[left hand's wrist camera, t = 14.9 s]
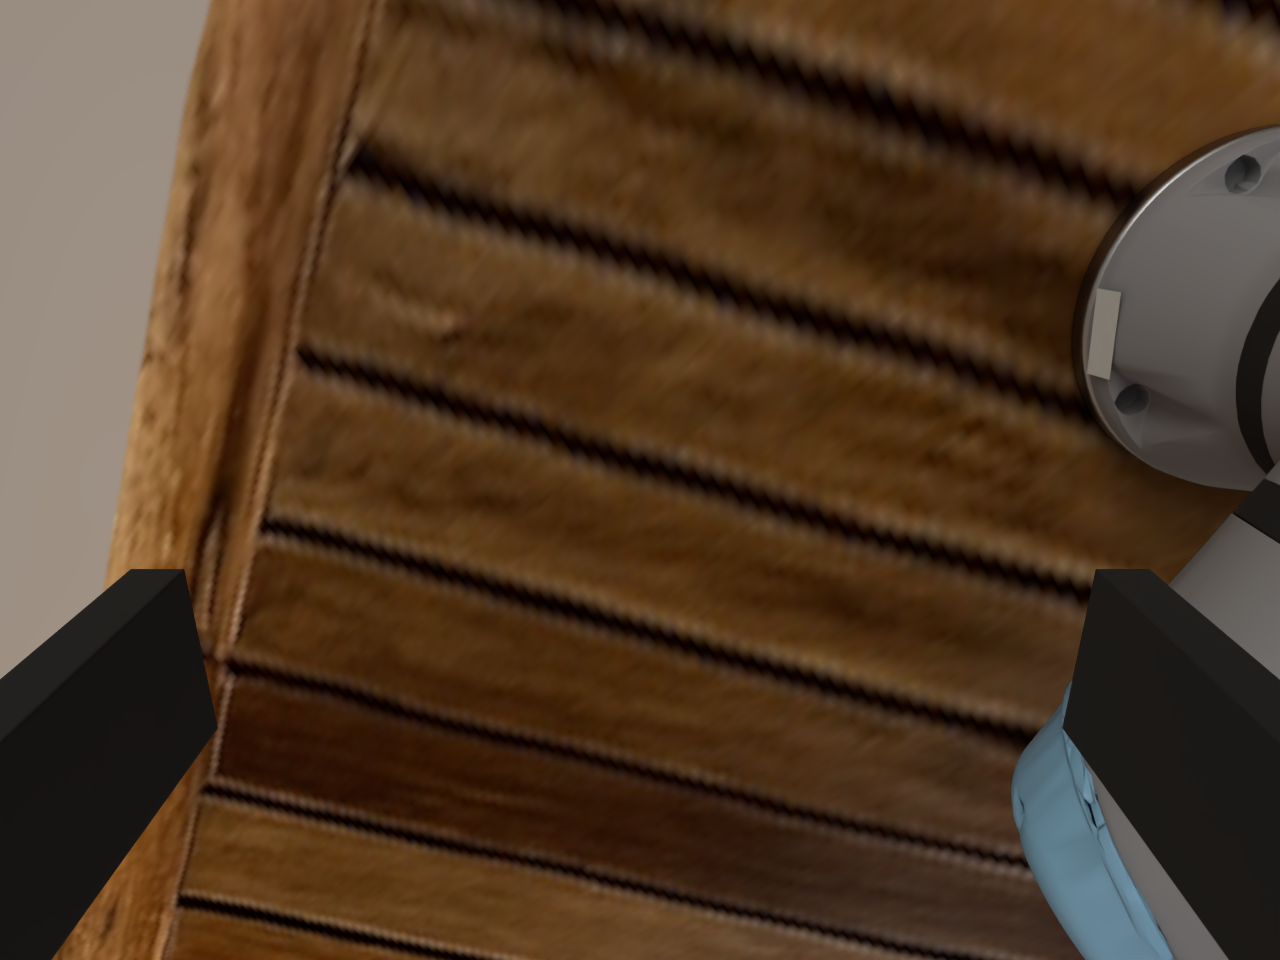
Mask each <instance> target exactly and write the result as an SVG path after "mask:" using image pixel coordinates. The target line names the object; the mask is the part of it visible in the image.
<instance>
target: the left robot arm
mask: <svg viewBox="0 0 1280 960" xmlns="http://www.w3.org/2000/svg"><path fill="white" fill-rule="evenodd" d="M1072 353H1073V363H1074V369H1075V374H1076V378H1077V382H1078V385H1079V388H1080V391H1081V394H1082V397H1083V399H1084V401H1085V403H1086V405H1087V407H1088V409H1089V411H1090V412H1091V414H1092V415H1093V417H1094V419H1095V420H1096V422H1097V423H1098V424H1099V425H1100V427H1101V428H1102V429H1103V430H1104V431H1105V433H1106V434H1107V435H1108V436H1109V437H1111V438H1112V439H1113V440H1114V441H1115V442H1116V443H1117V444H1118V445H1120V446H1121V447H1122V448H1124V449H1125V450H1126V451H1128V452H1129V453H1131V454H1132V455H1134V456H1135V457H1137V458H1139V459H1140V460H1142V461H1143V462H1145V463H1147V464H1148V465H1150V466H1152V467H1154V468H1156V469H1158V470H1160V471H1162V472H1164V473H1167V474H1169V475H1172V476H1175V477H1178V478H1181V479H1184V480H1187V481H1190V482H1193V483H1197V484H1201V485H1206V486H1212V487H1219V488H1227V489H1236V490H1246V491H1252V492H1251V493H1250V494H1249V496H1248V497H1247V498H1246V499H1245V500H1244V501H1243V502H1242V503H1241V505H1240V506H1239V507H1238V508H1237V509H1236V510H1235V511H1233V514H1232V513H1231V514H1230V515H1229V516H1228V518H1227V519H1226V520H1225V521H1224V522H1223V523H1222V525H1221V526H1220V527H1219V528H1218V529H1217V530H1216V531H1215V533H1214V534H1213V535H1212V536H1211V537H1210V538H1209V539H1208V541H1207V542H1206V543H1205V544H1204V545H1203V546H1202V548H1201V549H1200V550H1199V551H1198V552H1197V553H1196V554H1195V556H1194V557H1193V558H1192V559H1191V560H1190V561H1189V562H1188V563H1187V565H1186V566H1185V567H1184V568H1183V569H1182V570H1181V571H1180V572H1179V573H1178V574H1177V576H1176V577H1175V578H1174V579H1173V580H1172V581H1171V582H1170V583H1169V584H1168V585H1167V584H1166V583H1165V582H1164V581H1162V580H1161V579H1160V578H1159V577H1158V576H1156V575H1155V574H1154V573H1153V572H1152V571H1151V570H1149V569H1096V571H1095V576H1094V580H1093V585H1092V590H1091V595H1090V599H1089V604H1088V609H1087V613H1086V618H1085V623H1084V628H1083V632H1082V637H1081V642H1080V647H1079V651H1078V656H1077V661H1076V665H1075V670H1074V675H1073V680H1072V681H1071V682H1070V683H1069V685H1068V686H1067V688H1066V690H1065V692H1064V696H1063V702H1062V703H1061V705H1060V706H1059V707H1058V708H1057V710H1056V711H1055V712H1054V714H1053V715H1052V716H1051V717H1050V719H1049V720H1048V721H1047V722H1046V724H1045V725H1044V726H1043V727H1042V729H1041V730H1040V731H1039V732H1038V734H1037V735H1036V736H1035V737H1034V739H1033V740H1032V741H1031V742H1030V743H1029V745H1028V746H1027V747H1026V748H1025V750H1024V751H1023V753H1022V754H1021V756H1020V758H1019V760H1018V762H1017V764H1016V767H1015V770H1014V775H1013V779H1012V786H1011V801H1012V806H1013V817H1014V820H1015V823H1016V825H1017V828H1018V830H1019V833H1020V841H1021V844H1022V849H1023V852H1024V854H1025V857H1026V859H1027V862H1028V864H1029V866H1030V868H1031V870H1032V872H1033V875H1034V877H1035V879H1036V881H1037V883H1038V885H1039V887H1040V889H1041V891H1042V893H1043V895H1044V896H1045V898H1046V900H1047V902H1048V904H1049V905H1050V907H1051V909H1052V910H1053V912H1054V914H1055V915H1056V917H1057V919H1058V920H1059V922H1060V924H1061V925H1062V927H1063V928H1064V930H1065V931H1066V933H1067V934H1068V936H1069V937H1070V939H1071V940H1072V942H1073V943H1074V945H1075V946H1076V948H1077V949H1078V951H1079V952H1080V953H1081V955H1082V956H1083V957H1084V959H1085V960H1280V124H1273V125H1267V126H1262V127H1256V128H1252V129H1248V130H1245V131H1241V132H1238V133H1234V134H1232V135H1229V136H1226V137H1224V138H1221V139H1219V140H1216V141H1214V142H1212V143H1210V144H1208V145H1206V146H1204V147H1202V148H1200V149H1198V150H1196V151H1194V152H1192V153H1191V154H1189V155H1187V156H1186V157H1184V158H1182V159H1181V160H1179V161H1178V162H1176V163H1175V164H1174V165H1172V166H1171V167H1169V168H1168V169H1167V170H1165V171H1164V172H1162V173H1161V174H1160V175H1159V176H1158V177H1157V178H1155V179H1154V180H1153V181H1152V182H1151V183H1149V184H1148V185H1147V186H1146V187H1145V188H1144V189H1143V190H1142V191H1141V192H1140V193H1139V194H1138V195H1137V196H1136V197H1135V198H1134V199H1133V200H1132V201H1131V202H1130V204H1129V205H1128V206H1127V207H1126V208H1125V209H1124V211H1123V212H1122V213H1121V214H1120V215H1119V217H1118V218H1117V219H1116V221H1115V222H1114V223H1113V225H1112V226H1111V228H1110V229H1109V230H1108V232H1107V233H1106V235H1105V237H1104V238H1103V240H1102V242H1101V243H1100V245H1099V247H1098V248H1097V250H1096V252H1095V254H1094V256H1093V258H1092V260H1091V262H1090V264H1089V267H1088V269H1087V272H1086V274H1085V277H1084V279H1083V282H1082V285H1081V289H1080V292H1079V295H1078V299H1077V303H1076V308H1075V314H1074V320H1073V330H1072ZM1255 527H1256V528H1255ZM1260 530H1261V531H1260ZM1265 533H1266V534H1265ZM1268 535H1269V536H1268ZM1270 536H1271V537H1270ZM1273 538H1274V539H1273ZM1278 541H1279V542H1278ZM217 728H218V727H217V722H216V717H215V713H214V708H213V703H212V699H211V694H210V689H209V684H208V680H207V675H206V670H205V665H204V661H203V656H202V651H201V647H200V642H199V637H198V632H197V628H196V623H195V618H194V613H193V609H192V604H191V599H190V595H189V590H188V585H187V580H186V576H185V571H184V569H131V570H129V571H128V572H127V573H126V574H125V575H124V576H122V577H121V578H120V579H119V580H118V581H116V582H115V583H114V584H113V585H112V586H110V587H109V588H108V589H107V590H106V591H105V592H103V593H102V594H101V595H100V596H99V597H97V598H96V599H95V600H94V601H93V602H92V603H90V604H89V605H88V606H87V607H86V608H84V609H83V610H82V611H81V612H80V613H78V614H77V615H76V616H75V617H74V618H73V619H71V620H70V621H69V622H68V623H67V624H65V625H64V626H63V627H62V628H61V629H59V630H58V631H57V632H56V633H55V634H54V635H52V636H51V637H50V638H49V639H48V640H46V641H45V642H44V643H43V644H42V645H41V646H39V647H38V648H37V649H36V650H35V651H33V652H32V653H31V654H30V655H29V656H27V657H26V658H25V659H24V660H23V661H22V662H20V663H19V664H18V665H17V666H16V667H14V668H13V669H12V670H11V671H10V672H8V673H7V674H6V675H5V676H4V677H3V678H1V679H0V960H51V959H52V958H53V957H54V955H55V954H56V953H57V951H58V950H59V948H60V947H61V946H62V944H63V943H64V941H65V940H66V939H67V937H68V936H69V934H70V933H71V932H72V930H73V929H74V927H75V926H76V925H77V923H78V922H79V920H80V919H81V918H82V916H83V915H84V914H85V912H86V911H87V909H88V908H89V907H90V905H91V904H92V902H93V901H94V900H95V898H96V897H97V895H98V894H99V893H100V891H101V890H102V888H103V887H104V886H105V884H106V883H107V881H108V880H109V879H110V877H111V876H112V875H113V873H114V872H115V870H116V869H117V868H118V866H119V865H120V863H121V862H122V861H123V859H124V858H125V856H126V855H127V854H128V852H129V851H130V849H131V848H132V847H133V845H134V844H135V842H136V841H137V840H138V838H139V837H140V836H141V834H142V833H143V831H144V830H145V829H146V827H147V826H148V824H149V823H150V822H151V820H152V819H153V817H154V816H155V815H156V813H157V812H158V810H159V809H160V808H161V806H162V805H163V803H164V802H165V801H166V799H167V798H168V797H169V795H170V794H171V792H172V791H173V790H174V788H175V787H176V785H177V784H178V783H179V781H180V780H181V778H182V777H183V776H184V774H185V773H186V771H187V770H188V769H189V767H190V766H191V765H192V763H193V762H194V760H195V759H196V758H197V756H198V755H199V753H200V752H201V751H202V749H203V748H204V746H205V745H206V744H207V742H208V741H209V739H210V738H211V737H212V735H213V734H214V732H215V731H216V730H217Z"/></svg>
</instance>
